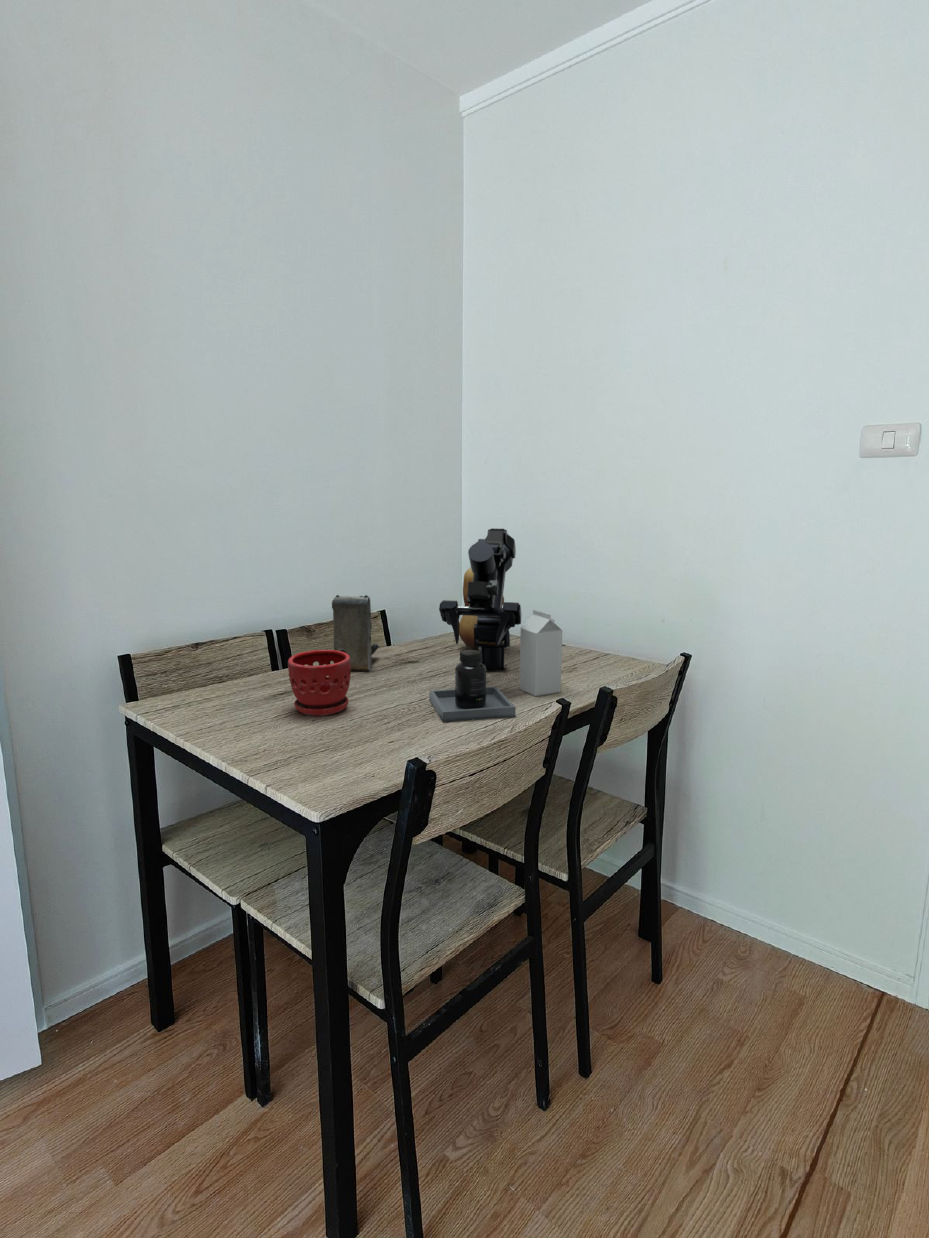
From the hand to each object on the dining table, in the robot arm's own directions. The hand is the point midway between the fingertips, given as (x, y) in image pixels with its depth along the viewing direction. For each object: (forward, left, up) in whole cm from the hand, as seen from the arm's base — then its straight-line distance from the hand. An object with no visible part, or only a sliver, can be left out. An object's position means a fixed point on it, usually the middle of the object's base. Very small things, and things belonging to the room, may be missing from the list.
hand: (476, 643), depth 163 cm
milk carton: (-16, -2, -13) cm, 21 cm away
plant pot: (+35, +1, -13) cm, 37 cm away
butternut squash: (-13, -45, -13) cm, 48 cm away
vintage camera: (+24, -36, -13) cm, 45 cm away
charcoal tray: (+3, +7, -13) cm, 15 cm away
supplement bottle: (+3, +7, -12) cm, 15 cm away
